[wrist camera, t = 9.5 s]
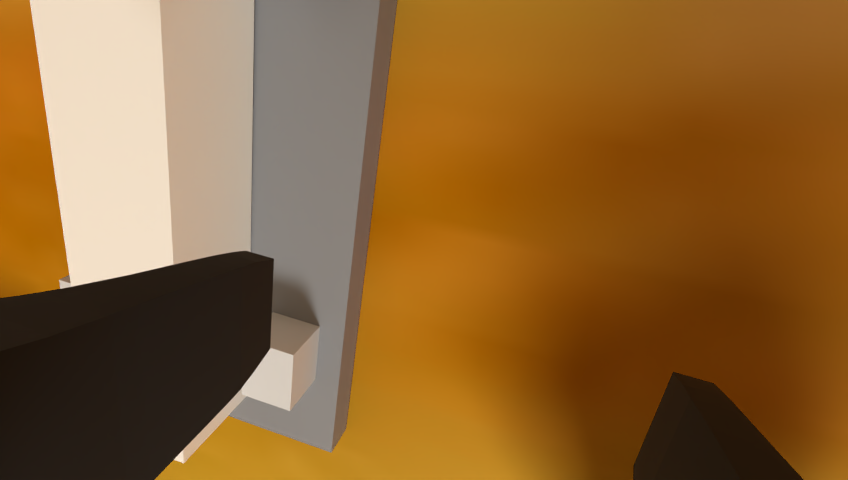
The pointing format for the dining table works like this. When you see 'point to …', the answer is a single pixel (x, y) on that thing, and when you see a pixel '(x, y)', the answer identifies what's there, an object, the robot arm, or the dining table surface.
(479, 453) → the dining table surface
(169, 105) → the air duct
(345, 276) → the collar stand
